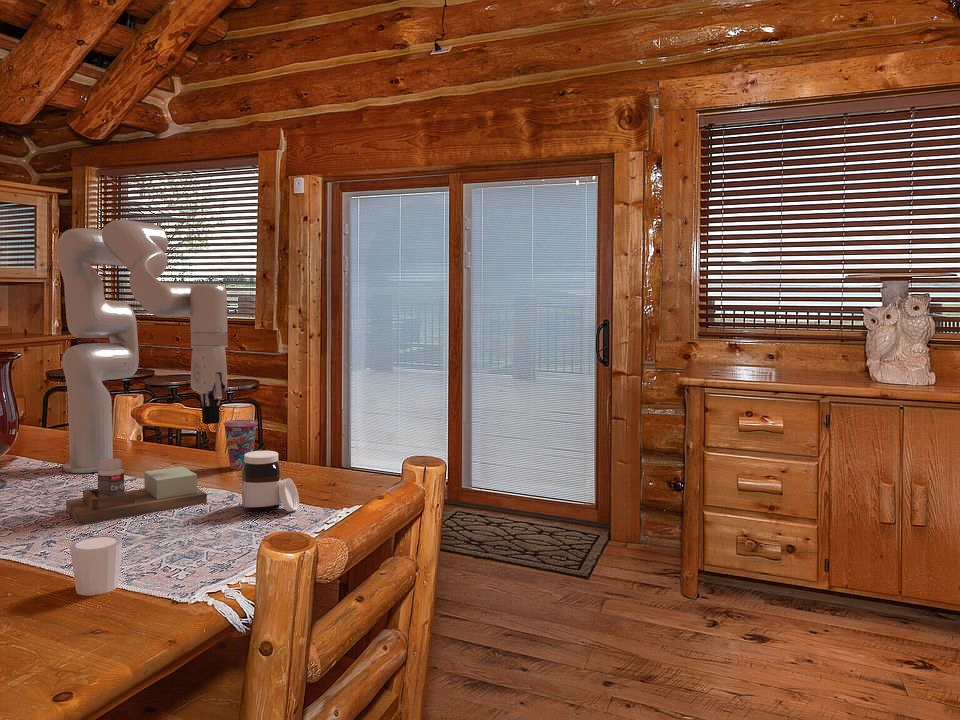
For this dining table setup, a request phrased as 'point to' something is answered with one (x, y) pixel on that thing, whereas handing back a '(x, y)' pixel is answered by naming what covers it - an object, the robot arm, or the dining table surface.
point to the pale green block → (170, 482)
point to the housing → (125, 504)
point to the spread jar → (266, 484)
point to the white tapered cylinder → (96, 564)
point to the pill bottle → (110, 478)
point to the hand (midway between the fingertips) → (210, 423)
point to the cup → (239, 440)
